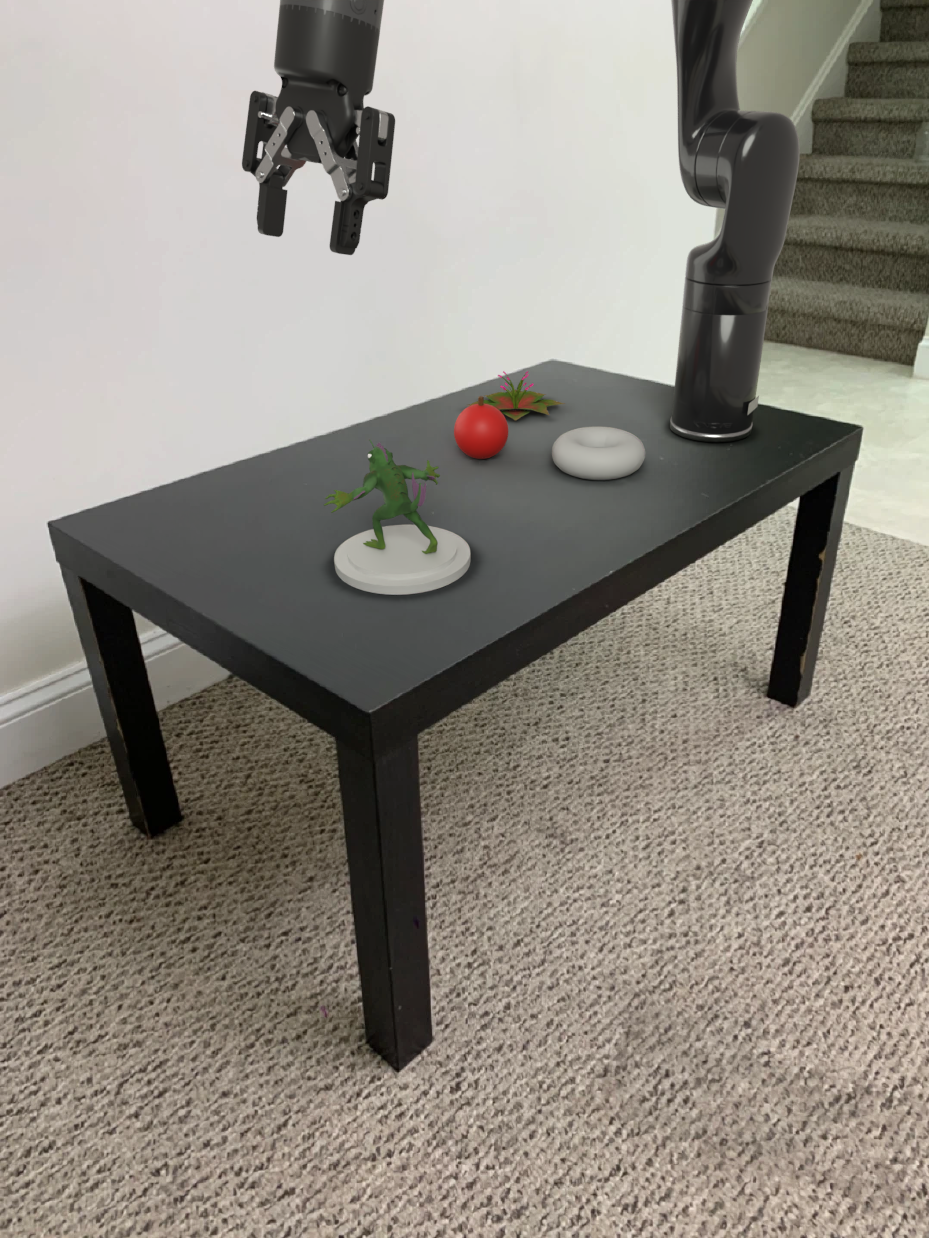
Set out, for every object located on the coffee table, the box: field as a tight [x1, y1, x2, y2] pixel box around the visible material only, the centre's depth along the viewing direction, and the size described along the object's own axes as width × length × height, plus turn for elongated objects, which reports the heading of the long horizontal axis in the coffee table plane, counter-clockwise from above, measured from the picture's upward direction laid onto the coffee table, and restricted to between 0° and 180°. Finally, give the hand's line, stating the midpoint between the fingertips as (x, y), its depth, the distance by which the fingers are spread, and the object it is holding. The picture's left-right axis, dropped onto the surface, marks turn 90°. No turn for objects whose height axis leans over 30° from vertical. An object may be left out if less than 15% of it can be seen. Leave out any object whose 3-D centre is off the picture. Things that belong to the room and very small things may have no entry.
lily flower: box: [467, 370, 566, 421], centre depth 118 cm, size 12×12×5 cm
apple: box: [453, 395, 509, 460], centre depth 103 cm, size 6×6×7 cm
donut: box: [551, 426, 646, 481], centre depth 101 cm, size 10×4×10 cm
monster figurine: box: [323, 438, 472, 596], centre depth 81 cm, size 12×12×10 cm
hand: (304, 244), depth 76 cm, fingers open, 8 cm apart
